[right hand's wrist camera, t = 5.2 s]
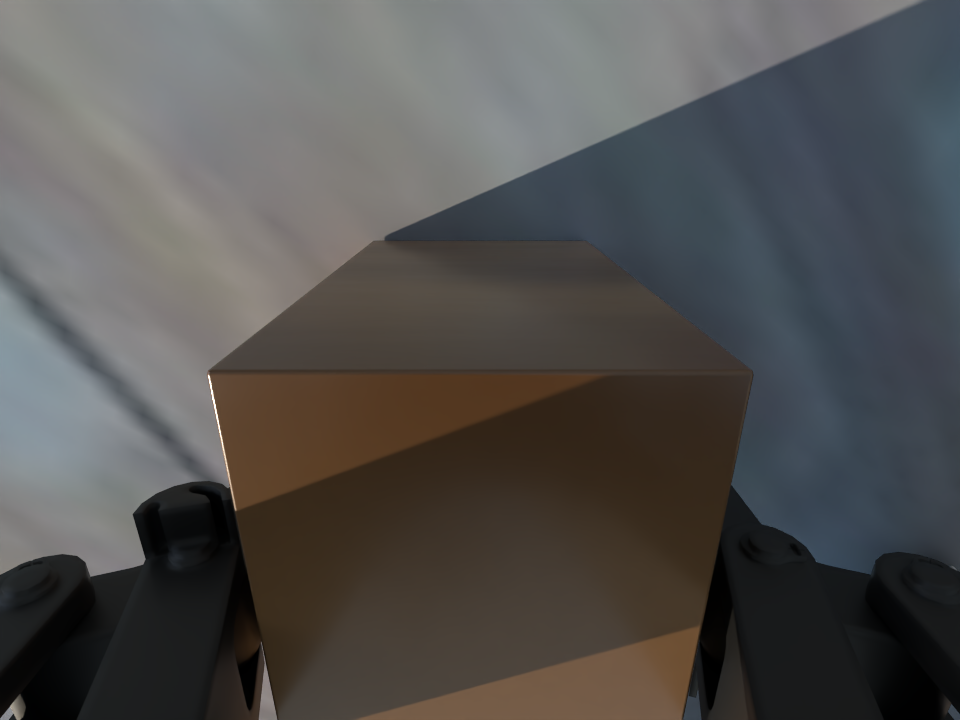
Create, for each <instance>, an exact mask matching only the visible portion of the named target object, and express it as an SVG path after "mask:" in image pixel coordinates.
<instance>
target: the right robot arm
mask: <svg viewBox="0 0 960 720" xmlns="http://www.w3.org/2000/svg"><path fill="white" fill-rule="evenodd" d="M133 517H134V520H135V524H136V527H137V531H138V534H139V538H140V541H141V544H142V548H143V551H144V555H145V558H146V560H145V562H144V565H141V566H137V567H134V568H129V569H125V570H120V571H115V572H111V573H106V574H102V575H97V576H92V577H90V575H89V572H88V569H87V566H86V563H85V562H84V561H83V560H82V559H80V558H79V557H78V556H72V555H64V554H61V555H54V556H47V557H42V558H38V559H35V560H33V561H28V562H26V563H23V564H20V565H19V566H17V567H15V568H13V569H11V570H9V571H7V572H5V573H3V574H1V575H0V718H1V717H2V715H3V714H4V713H5V712H6V711H7V709H8V708H9V707H11V709H12V711H13V713H14V714H13V715H12V716H11V718H10V719H9V720H259V710H260V701H261V692H262V682H263V673H264V664H265V663H264V656H263V650H262V645H261V636H260V631H259V627H258V622H257V617H256V612H255V607H254V602H253V597H252V592H251V587H250V582H249V578H248V573H247V568H246V563H245V558H244V553H243V548H242V543H241V538H240V533H239V529H238V524H237V519H236V514H235V509H234V504H233V499H232V494H231V489H230V487H229V488H226V487H225V486H224V485H223V484H220V483H215V482H211V481H202V482H190V483H186V484H182V485H177V486H174V487H171V488H169V489H166V490H164V491H162V492H159V493H157V494H155V495H154V496H152V497H151V498H149V499H148V500H146V501H145V502H143V503H142V504H141V505H140V506H139V507H138V509H137V510H136V511H135V512H134V513H133ZM699 640H700V641H699V645H698V650H697V655H696V660H695V665H694V670H693V675H692V680H691V685H690V691H689V696H692V697H696V695H697V690H699V699H700V709H701V718H702V720H954V719H953V718H952V717H951V715H950V714H949V713H948V710H949V708H950V706H951V704H952V705H953V706H954V707H955V708H956V710H957V711H958V712H959V713H960V572H959V571H957V570H955V569H953V568H951V567H949V566H947V565H945V564H943V563H942V562H939V561H936V560H934V559H929V558H928V557H924V556H920V555H916V554H909V553H902V552H895V553H887V554H883V555H882V556H881V557H879V558H878V559H877V560H876V562H875V564H874V567H873V570H872V573H871V575H869V574H865V573H860V572H855V571H851V570H846V569H841V568H837V567H832V566H828V565H824V564H821V563H817V562H816V561H815V559H814V557H813V556H812V555H811V553H810V552H809V550H808V549H807V548H806V547H805V546H804V545H803V544H802V543H800V542H799V541H798V540H796V539H795V538H794V537H792V536H791V535H788V534H786V533H784V532H782V531H780V530H778V529H776V528H773V527H769V526H765V525H762V524H761V523H760V522H759V521H758V519H757V518H756V517H755V515H754V514H753V513H752V512H751V510H750V509H749V508H748V506H747V505H746V504H745V502H744V501H743V500H742V498H741V497H740V496H739V495H738V493H737V492H736V491H735V489H734V488H733V487H732V486H731V487H730V492H729V497H728V502H727V507H726V511H725V516H724V521H723V526H722V531H721V536H720V541H719V546H718V551H717V555H716V560H715V565H714V570H713V575H712V580H711V585H710V590H709V595H708V600H707V604H706V609H705V614H704V619H703V624H702V629H701V634H700V639H699Z"/></svg>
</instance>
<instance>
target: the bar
mask: <svg viewBox="0 0 960 720" xmlns="http://www.w3.org/2000/svg"><path fill="white" fill-rule="evenodd" d="M207 377H208V381H209V386H210V391H211V396H212V401H213V406H214V411H215V416H216V421H217V426H218V430H219V435H220V440H221V445H222V450H223V455H224V460H225V465H226V470H227V475H228V479H229V484H230V489H231V494H232V499H233V504H234V509H235V514H236V519H237V524H238V529H239V533H240V538H241V543H242V548H243V553H244V558H245V563H246V568H247V573H248V578H249V582H250V587H251V592H252V597H253V602H254V607H255V612H256V617H257V622H258V627H259V631H260V636H261V641H262V646H263V651H264V656H265V661H266V666H267V671H268V676H269V680H270V685H271V690H272V695H273V700H274V705H275V710H276V715H277V720H683V717H684V712H685V707H686V702H687V697H688V692H689V688H690V683H691V678H692V673H693V668H694V663H695V658H696V653H697V648H698V644H699V639H700V634H701V629H702V624H703V619H704V614H705V609H706V604H707V600H708V595H709V590H710V585H711V580H712V575H713V570H714V565H715V560H716V555H717V551H718V546H719V541H720V536H721V531H722V526H723V521H724V516H725V511H726V507H727V502H728V497H729V492H730V487H731V482H732V477H733V472H734V467H735V463H736V458H737V453H738V448H739V443H740V438H741V433H742V428H743V423H744V418H745V414H746V409H747V404H748V399H749V394H750V389H751V384H752V379H753V371H752V370H751V369H750V368H748V367H747V366H746V365H745V364H743V363H742V362H741V361H739V360H738V359H737V358H736V357H734V356H733V355H732V354H731V353H729V352H728V351H727V350H725V349H724V348H723V347H722V346H720V345H719V344H718V343H716V342H715V341H714V340H713V339H711V338H710V337H709V336H707V335H706V334H705V333H704V332H702V331H701V330H700V329H699V328H697V327H696V326H695V325H693V324H692V323H691V322H690V321H688V320H687V319H686V318H684V317H683V316H682V315H681V314H679V313H678V312H677V311H676V310H674V309H673V308H672V307H670V306H669V305H668V304H667V303H665V302H664V301H663V300H661V299H660V298H659V297H658V296H656V295H655V294H654V293H653V292H651V291H650V290H649V289H647V288H646V287H645V286H644V285H642V284H641V283H640V282H638V281H637V280H636V279H635V278H633V277H632V276H631V275H630V274H628V273H627V272H626V271H624V270H623V269H622V268H621V267H619V266H618V265H617V264H615V263H614V262H613V261H612V260H610V259H609V258H608V257H607V256H605V255H604V254H603V253H601V252H600V251H599V250H598V249H596V248H595V247H594V246H592V245H591V244H590V243H589V242H587V241H373V242H372V243H370V244H369V245H368V246H367V247H365V248H364V249H363V250H361V251H360V252H359V253H358V254H356V255H355V256H354V257H353V258H351V259H350V260H349V261H347V262H346V263H345V264H344V265H342V266H341V267H340V268H339V269H337V270H336V271H335V272H333V273H332V274H331V275H330V276H328V277H327V278H326V279H324V280H323V281H322V282H321V283H319V284H318V285H317V286H316V287H314V288H313V289H312V290H310V291H309V292H308V293H307V294H305V295H304V296H303V297H301V298H300V299H299V300H298V301H296V302H295V303H294V304H293V305H291V306H290V307H289V308H287V309H286V310H285V311H284V312H282V313H281V314H280V315H279V316H277V317H276V318H275V319H273V320H272V321H271V322H270V323H268V324H267V325H266V326H264V327H263V328H262V329H261V330H259V331H258V332H257V333H256V334H254V335H253V336H252V337H250V338H249V339H248V340H247V341H245V342H244V343H243V344H242V345H240V346H239V347H238V348H236V349H235V350H234V351H233V352H231V353H230V354H229V355H227V356H226V357H225V358H224V359H222V360H221V361H220V362H219V363H217V364H216V365H215V366H213V367H212V368H211V369H210V370H208V373H207Z"/></svg>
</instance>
